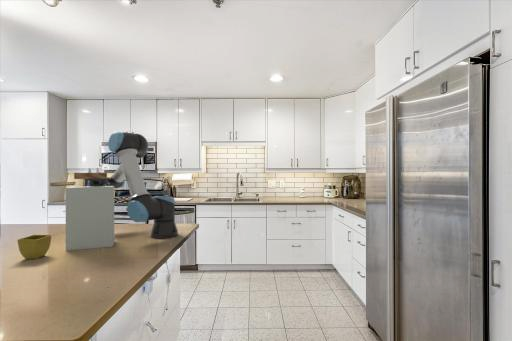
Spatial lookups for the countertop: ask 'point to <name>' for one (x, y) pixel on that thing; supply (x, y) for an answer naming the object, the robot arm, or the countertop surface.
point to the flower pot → (34, 246)
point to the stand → (89, 217)
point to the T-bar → (90, 175)
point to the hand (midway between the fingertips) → (93, 170)
